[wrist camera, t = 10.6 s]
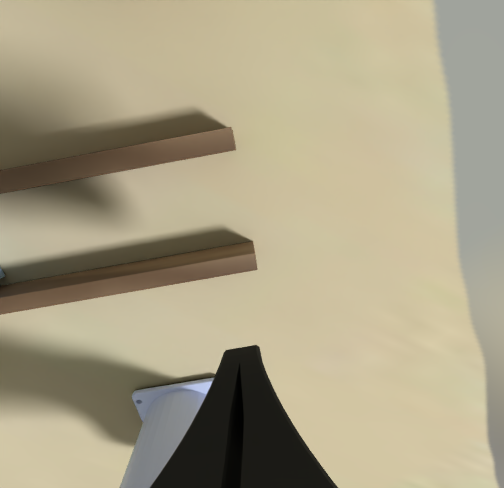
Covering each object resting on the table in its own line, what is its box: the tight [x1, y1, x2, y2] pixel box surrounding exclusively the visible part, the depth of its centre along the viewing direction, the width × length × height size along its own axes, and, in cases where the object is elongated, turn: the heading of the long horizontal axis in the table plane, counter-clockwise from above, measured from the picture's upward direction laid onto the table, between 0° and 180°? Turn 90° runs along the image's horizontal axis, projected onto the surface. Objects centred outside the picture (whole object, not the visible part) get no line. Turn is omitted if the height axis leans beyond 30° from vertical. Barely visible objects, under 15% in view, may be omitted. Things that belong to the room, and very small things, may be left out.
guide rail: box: [0, 127, 257, 315], centre depth 17 cm, size 9×25×4 cm, turn 100°
